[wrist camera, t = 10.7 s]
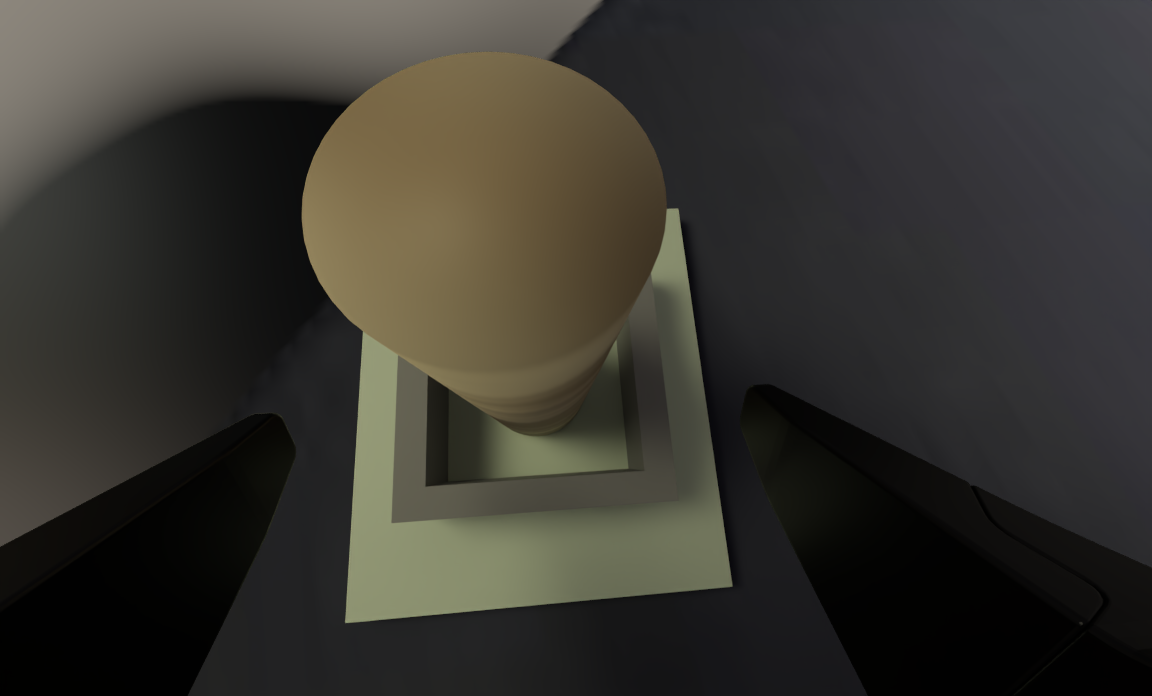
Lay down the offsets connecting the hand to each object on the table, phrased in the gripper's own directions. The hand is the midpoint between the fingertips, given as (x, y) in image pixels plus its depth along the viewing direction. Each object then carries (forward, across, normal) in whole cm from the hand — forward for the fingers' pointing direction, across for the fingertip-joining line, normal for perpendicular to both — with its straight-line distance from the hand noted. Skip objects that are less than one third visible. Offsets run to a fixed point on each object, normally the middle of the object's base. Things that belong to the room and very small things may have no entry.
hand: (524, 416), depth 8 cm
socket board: (+8, 0, +5) cm, 10 cm away
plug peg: (+8, 0, +5) cm, 9 cm away
